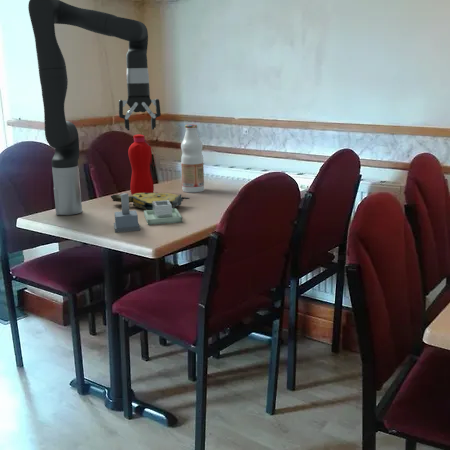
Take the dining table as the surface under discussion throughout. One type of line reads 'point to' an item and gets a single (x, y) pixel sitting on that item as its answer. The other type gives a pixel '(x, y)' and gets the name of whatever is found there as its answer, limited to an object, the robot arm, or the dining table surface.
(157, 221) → the tray
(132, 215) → the grey peg stand
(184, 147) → the fruit juice
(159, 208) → the gray open box
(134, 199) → the pulley block
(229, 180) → the dining table surface
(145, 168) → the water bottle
